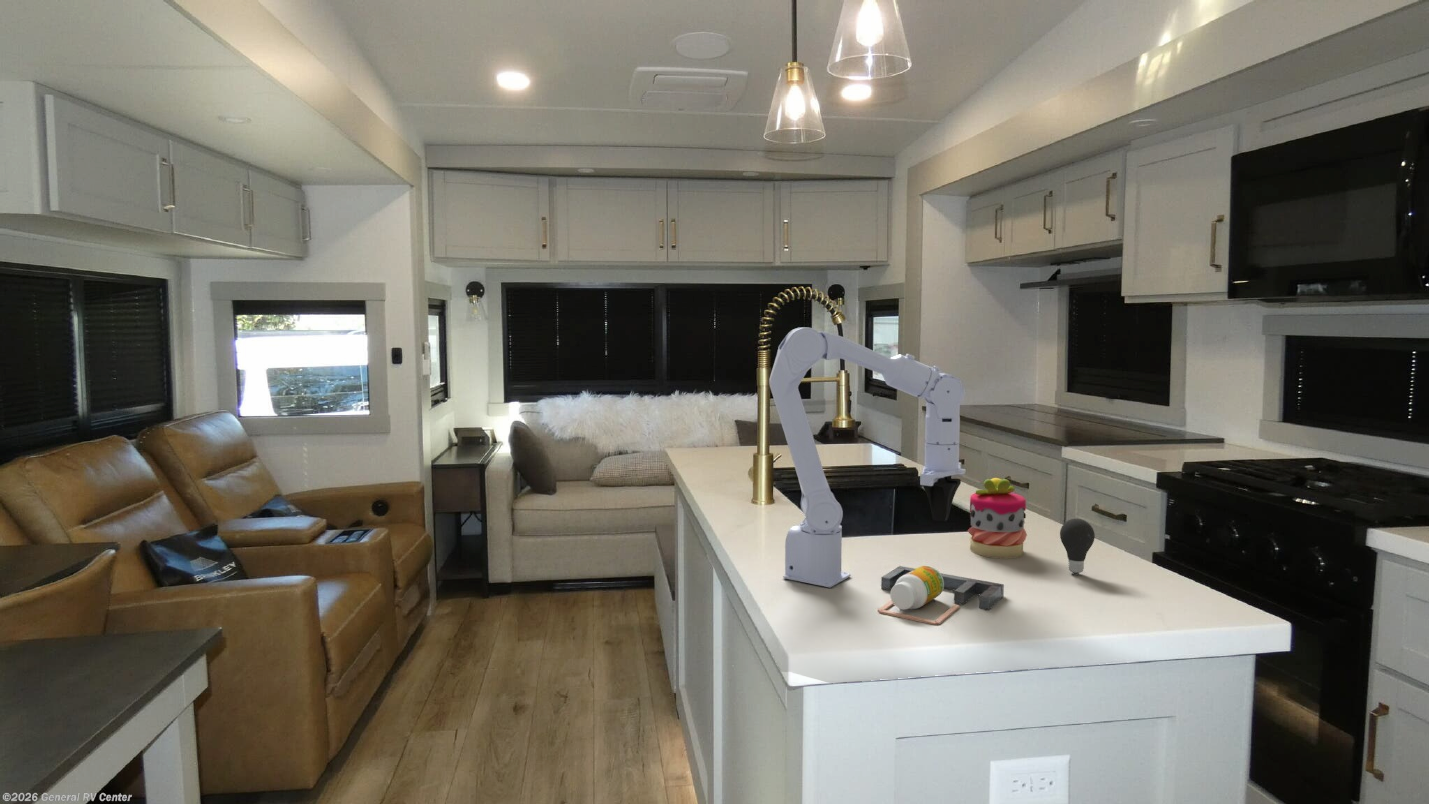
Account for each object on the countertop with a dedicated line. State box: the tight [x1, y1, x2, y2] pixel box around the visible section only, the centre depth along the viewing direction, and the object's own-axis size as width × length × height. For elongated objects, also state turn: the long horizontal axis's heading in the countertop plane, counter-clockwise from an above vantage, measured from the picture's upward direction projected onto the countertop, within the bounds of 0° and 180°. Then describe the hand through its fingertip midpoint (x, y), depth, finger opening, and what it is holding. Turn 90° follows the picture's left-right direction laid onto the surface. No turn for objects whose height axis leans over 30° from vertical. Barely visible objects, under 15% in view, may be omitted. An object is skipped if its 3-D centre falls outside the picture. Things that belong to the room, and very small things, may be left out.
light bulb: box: [1059, 518, 1096, 576], centre depth 143 cm, size 6×6×10 cm
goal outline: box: [877, 599, 961, 626], centre depth 126 cm, size 10×9×1 cm
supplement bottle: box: [889, 565, 945, 610], centre depth 128 cm, size 5×5×10 cm
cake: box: [967, 477, 1028, 559], centre depth 158 cm, size 10×11×15 cm
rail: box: [880, 565, 1005, 611], centre depth 134 cm, size 18×8×2 cm, turn 54°
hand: (940, 520), depth 141 cm, fingers closed
